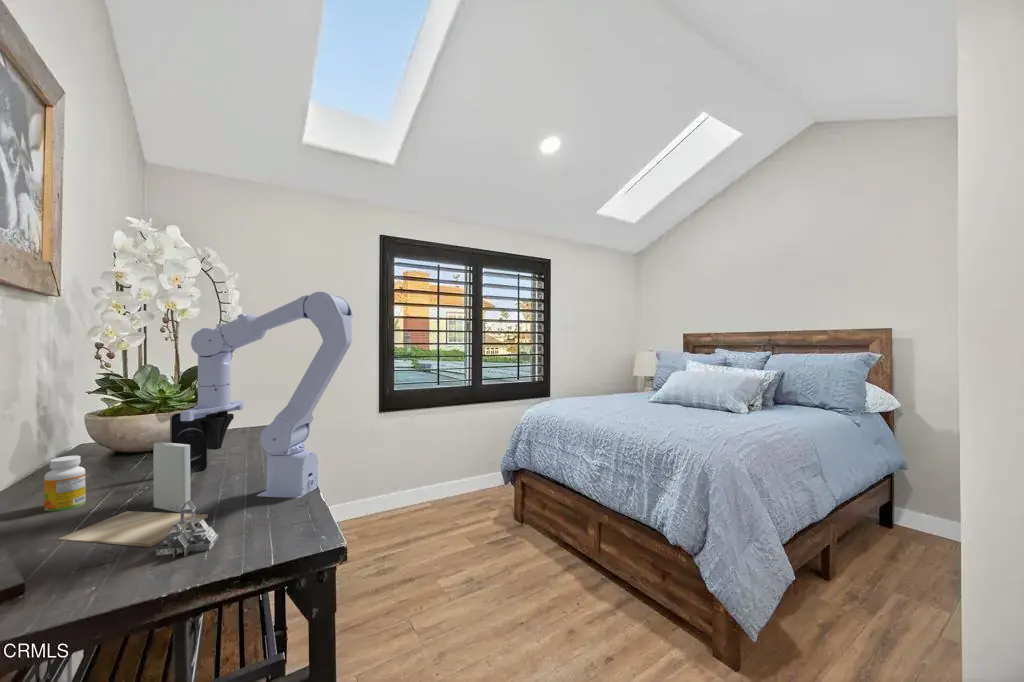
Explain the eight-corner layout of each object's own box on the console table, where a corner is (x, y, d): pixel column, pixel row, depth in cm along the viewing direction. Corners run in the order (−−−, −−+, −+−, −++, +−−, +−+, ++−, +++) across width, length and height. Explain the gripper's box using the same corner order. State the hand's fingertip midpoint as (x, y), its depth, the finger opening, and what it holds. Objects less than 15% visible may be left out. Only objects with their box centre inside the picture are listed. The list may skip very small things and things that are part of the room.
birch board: (207, 517, 76) (207, 514, 76) (150, 547, 65) (150, 543, 65) (127, 514, 78) (127, 511, 78) (57, 542, 67) (57, 538, 67)
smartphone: (170, 478, 98) (170, 414, 98) (169, 478, 98) (169, 413, 98) (207, 470, 104) (207, 409, 104) (205, 469, 105) (206, 409, 105)
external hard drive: (182, 513, 78) (182, 446, 78) (151, 508, 81) (152, 443, 81) (191, 510, 80) (191, 444, 80) (161, 505, 82) (161, 441, 82)
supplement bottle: (44, 509, 80) (44, 458, 80) (84, 501, 84) (85, 452, 84) (43, 517, 76) (43, 464, 76) (86, 509, 80) (86, 458, 80)
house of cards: (120, 578, 57) (120, 522, 57) (153, 548, 66) (153, 499, 66) (197, 568, 60) (197, 514, 60) (220, 540, 68) (220, 493, 68)
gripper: (223, 381, 98) (223, 440, 98) (166, 388, 83) (166, 457, 83) (251, 382, 97) (251, 441, 97) (199, 389, 83) (199, 458, 83)
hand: (214, 448), depth 90 cm, fingers closed
